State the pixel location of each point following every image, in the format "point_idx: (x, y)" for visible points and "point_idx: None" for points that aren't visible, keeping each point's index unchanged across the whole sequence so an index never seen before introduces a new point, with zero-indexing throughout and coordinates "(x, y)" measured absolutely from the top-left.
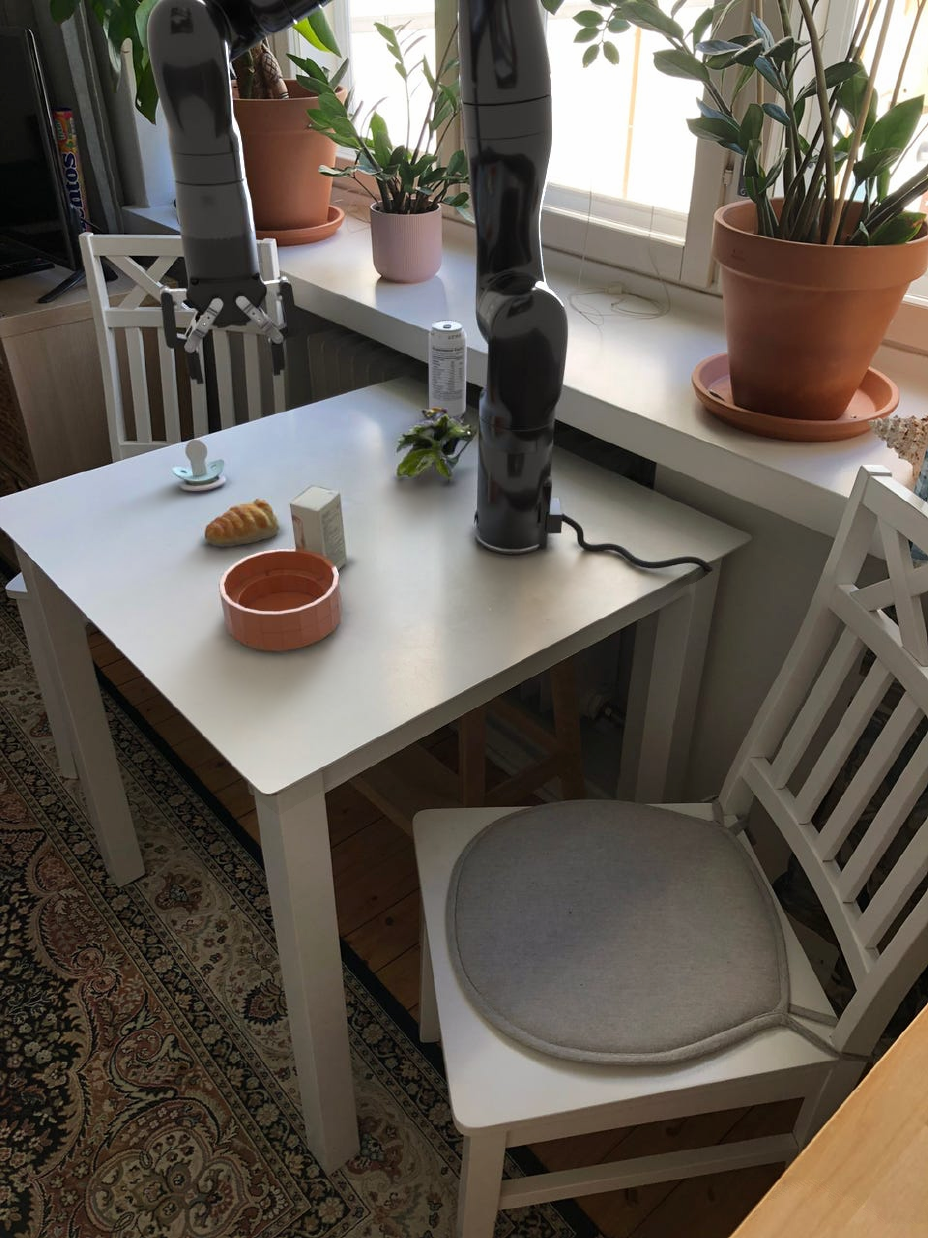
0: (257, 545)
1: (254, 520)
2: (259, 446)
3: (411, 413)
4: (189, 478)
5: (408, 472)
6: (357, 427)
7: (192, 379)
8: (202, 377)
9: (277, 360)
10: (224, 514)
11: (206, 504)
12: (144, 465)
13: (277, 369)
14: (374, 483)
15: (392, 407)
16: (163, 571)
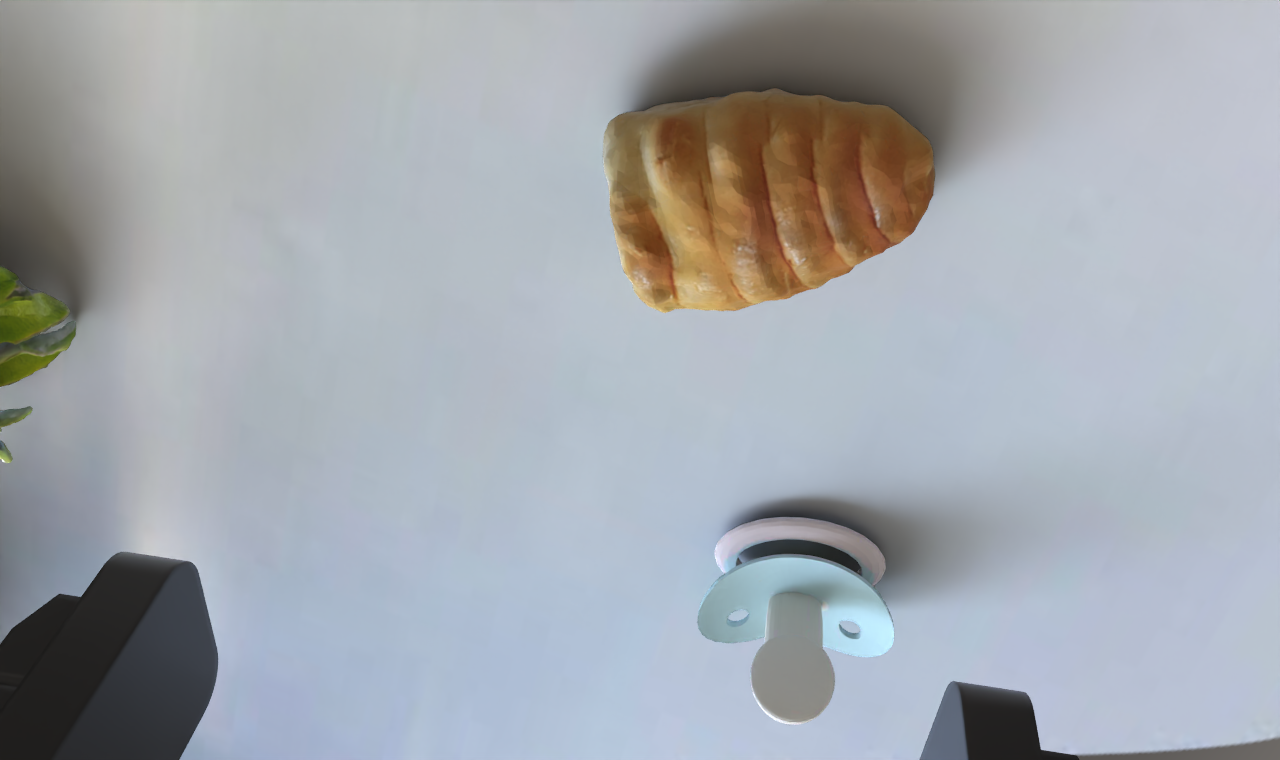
0: (729, 67)
1: (709, 153)
2: (548, 684)
3: None
4: (843, 588)
5: (4, 282)
6: None
7: (1071, 755)
8: (971, 733)
9: (41, 681)
10: (817, 264)
11: (829, 438)
12: None
13: (112, 598)
14: (178, 324)
15: None
16: (1192, 25)
